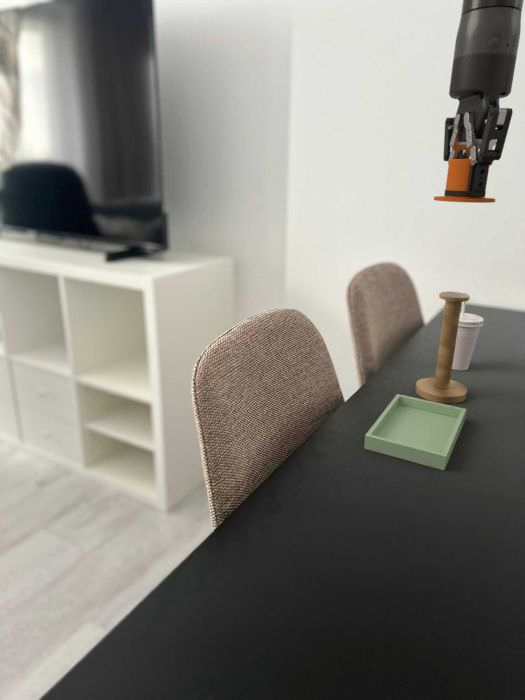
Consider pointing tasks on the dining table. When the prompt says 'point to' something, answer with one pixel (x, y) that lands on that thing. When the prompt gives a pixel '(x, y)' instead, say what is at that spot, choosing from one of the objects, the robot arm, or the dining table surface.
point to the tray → (417, 431)
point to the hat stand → (445, 356)
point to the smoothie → (466, 339)
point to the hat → (460, 183)
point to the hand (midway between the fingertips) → (464, 194)
